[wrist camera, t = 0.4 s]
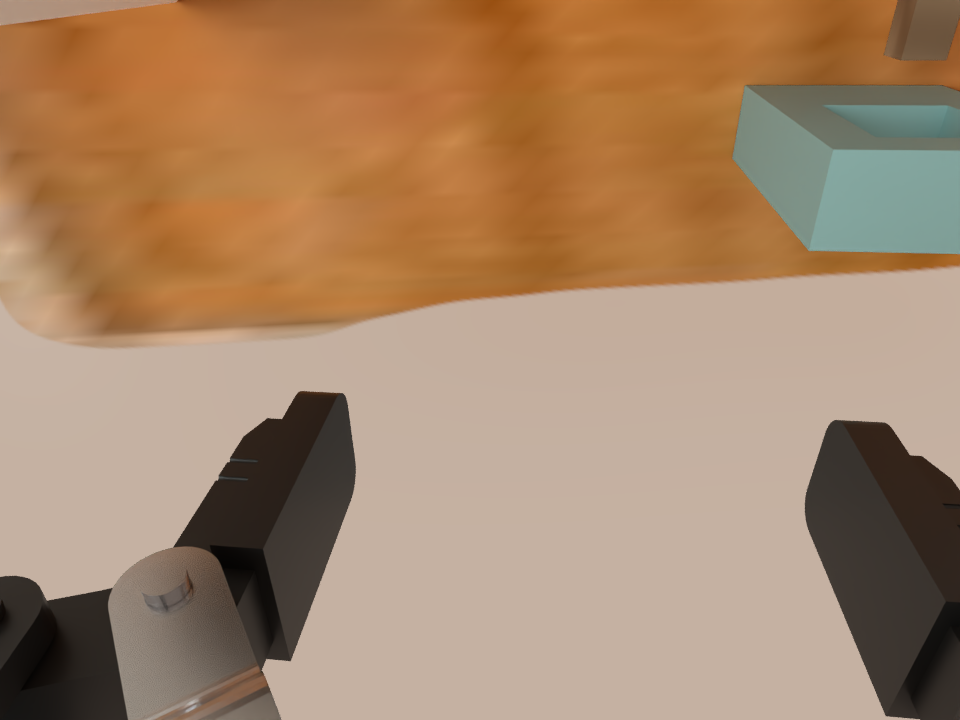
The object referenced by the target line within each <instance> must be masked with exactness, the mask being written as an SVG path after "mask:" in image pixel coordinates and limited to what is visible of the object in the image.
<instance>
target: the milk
mask: <svg viewBox="0 0 960 720" xmlns="http://www.w3.org/2000/svg"><path fill="white" fill-rule="evenodd" d="M177 1H178V0H0V25H7V24H15V23H22V22H30V21H37V20H45V19H53V18H60V17H68V16H76V15H83V14H91V13H98V12H106V11H114V10H121V9H129V8H137V7H144V6H152V5H159V4H167V3H174V2H177Z"/></svg>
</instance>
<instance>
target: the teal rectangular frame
mask: <svg viewBox="0 0 960 720" xmlns="http://www.w3.org/2000/svg"><path fill="white" fill-rule="evenodd" d="M732 159H733V160H734V161H735V162H736V163H737V165H738V166H739V167H740V168H741V169H742V171H743V172H744V173H745V174H746V176H747V177H748V178H749V179H750V180H751V182H752V183H753V184H754V185H755V186H756V188H757V189H758V190H759V191H760V192H761V194H762V195H763V196H764V197H765V198H766V200H767V201H768V202H769V203H770V204H771V206H772V207H773V208H774V209H775V211H776V212H777V213H778V214H779V215H780V217H781V218H782V219H783V220H784V221H785V223H786V224H787V225H788V226H789V227H790V229H791V230H792V231H793V232H794V233H795V235H796V236H797V237H798V238H799V239H800V241H801V242H802V243H803V244H804V246H805V247H806V248H807V249H808V250H809V251H848V252H893V253H939V254H960V91H957V90H954V89H951V88H948V87H945V86H943V85H745V88H744V94H743V100H742V105H741V111H740V117H739V123H738V129H737V135H736V141H735V147H734V153H733V158H732Z"/></svg>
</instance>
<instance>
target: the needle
mask: <svg viewBox="0 0 960 720" xmlns="http://www.w3.org/2000/svg"><path fill="white" fill-rule="evenodd" d="M959 17H960V0H898V2H897V6H896V10H895V14H894V17H893V21H892V25H891V29H890V33H889V37H888V40H887V44H886V48H885V52H884V55H885V56H889V57H892V58H895V59H898V60H947V56H948V53H949V50H950V47H951V43H952V40H953V37H954V33H955V30H956V27H957V24H958V20H959Z"/></svg>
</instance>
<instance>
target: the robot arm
mask: <svg viewBox="0 0 960 720" xmlns="http://www.w3.org/2000/svg"><path fill="white" fill-rule="evenodd" d="M355 474H356V466H355V456H354V448H353V441H352V435H351V426H350V419H349V411H348V405H347V400H346V397H345V395H344V394H343V393H326V392H307V391H300V392H298V394H297V395H296V396H295V398H294V399H293V401H292V403H291V405H290V406H289V408H288V410H287V412H286V413H285V415H284V417H283V419H270V418H267V419H266V420H265V421H263V422H262V423H261V424H259V425H258V426H257V427H256V428H254V429H253V430H252V431H250V432H249V433H248V434H246V435H245V436H244V437H243V438H242V440H241V442H240V443H239V445H238V446H237V448H236V449H235V451H234V453H233V454H232V456H231V457H230V462H228V463H227V464H226V465H225V467H224V468H223V470H222V471H221V473H220V475H219V480H218V481H215V483H214V484H213V486H212V487H211V489H210V490H209V492H208V493H207V495H206V497H205V498H204V500H203V501H202V503H201V505H200V506H199V508H198V509H197V511H196V512H195V514H194V516H193V517H192V519H191V520H190V522H189V524H188V525H187V527H186V528H185V530H184V531H183V533H182V534H181V536H180V538H179V539H178V541H177V542H176V544H175V545H174V547H173V548H170V549H166V550H162V551H159V552H156V553H154V554H152V555H150V556H148V557H146V558H144V559H142V560H140V561H139V562H137V563H136V564H134V565H133V566H132V567H131V568H129V569H128V570H127V571H126V572H125V573H124V574H123V575H122V576H121V577H120V579H119V580H118V581H117V583H116V584H115V585H114V587H113V588H111V589H106V590H102V591H97V592H91V593H86V594H81V595H75V596H70V597H65V598H59V599H54V600H49V601H47V600H46V598H45V597H44V594H43V592H42V591H41V589H40V587H39V586H38V585H37V583H36V582H34V581H32V580H30V579H28V578H25V577H19V576H4V577H0V720H281V717H280V715H279V712H278V709H277V707H276V705H275V701H274V699H273V697H272V694H271V691H270V688H269V686H268V683H267V681H266V678H265V676H264V674H263V672H262V671H261V670H262V668H263V666H264V663H265V661H266V659H274V660H286V661H291V658H292V656H293V653H294V651H295V648H296V645H297V643H298V640H299V637H300V635H301V631H302V629H303V627H304V624H305V621H306V619H307V616H308V613H309V611H310V608H311V605H312V602H313V600H314V597H315V595H316V592H317V589H318V587H319V584H320V581H321V579H322V576H323V573H324V571H325V568H326V565H327V562H328V560H329V557H330V554H331V552H332V549H333V547H334V544H335V541H336V538H337V536H338V533H339V530H340V528H341V525H342V522H343V520H344V517H345V514H346V512H347V509H348V506H349V503H350V501H351V498H352V495H353V490H354V484H355ZM805 516H806V522H807V527H808V530H809V532H810V535H811V537H812V540H813V542H814V544H815V547H816V549H817V552H818V554H819V556H820V559H821V561H822V564H823V566H824V569H825V571H826V573H827V575H828V578H829V580H830V583H831V585H832V588H833V590H834V593H835V595H836V597H837V600H838V602H839V604H840V607H841V609H842V612H843V614H844V617H845V619H846V621H847V624H848V626H849V629H850V631H851V633H852V636H853V638H854V641H855V643H856V645H857V648H858V650H859V652H860V655H861V658H862V660H863V662H864V665H865V667H866V669H867V672H868V674H869V677H870V679H871V681H872V684H873V686H874V689H875V691H876V694H877V696H878V698H879V701H880V703H881V706H882V708H883V710H884V713H885V715H886V716H890V717H902V718H914V719H920V720H960V490H959V489H958V487H957V486H956V484H955V483H954V482H953V480H952V479H950V477H948V476H947V475H946V474H944V473H943V472H942V471H940V470H939V469H938V468H936V467H935V466H934V465H932V464H931V463H930V462H929V461H927V460H926V459H925V458H923V457H922V456H910V455H909V453H908V452H907V450H906V449H905V447H904V446H903V444H902V443H901V441H900V440H899V438H898V437H897V435H896V434H895V432H894V431H893V429H892V428H891V427H890V426H889V425H888V424H886V423H882V422H881V423H880V422H862V421H843V420H842V421H841V420H835V421H833V422H831V423H830V425H829V426H828V428H827V430H826V433H825V436H824V439H823V442H822V446H821V449H820V452H819V455H818V458H817V461H816V464H815V467H814V470H813V473H812V476H811V479H810V483H809V486H808V489H807V492H806V498H805Z"/></svg>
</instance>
